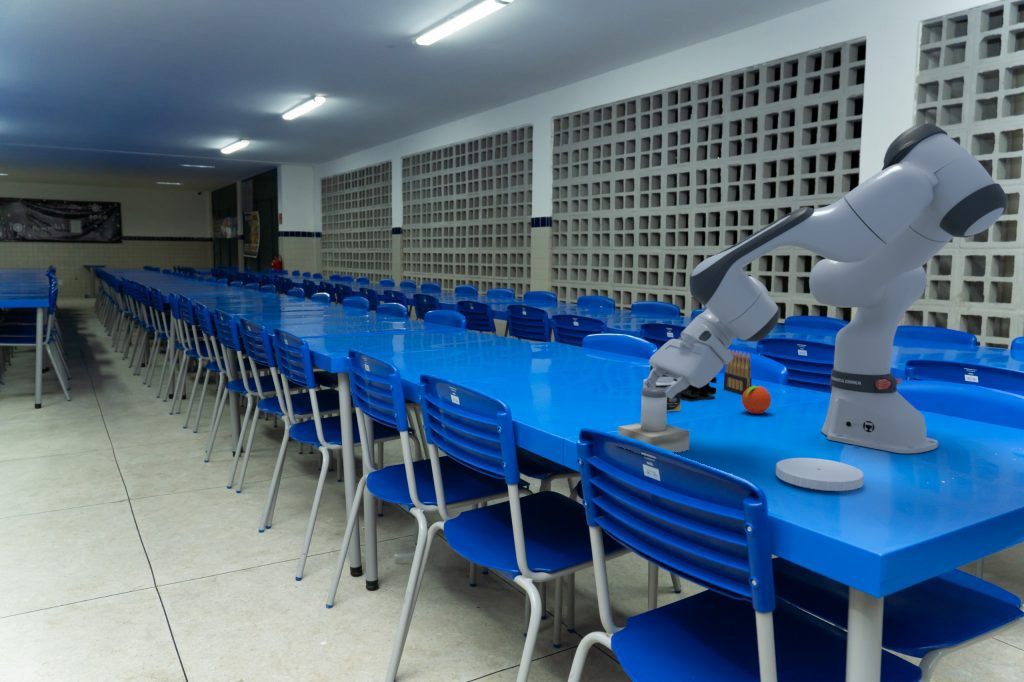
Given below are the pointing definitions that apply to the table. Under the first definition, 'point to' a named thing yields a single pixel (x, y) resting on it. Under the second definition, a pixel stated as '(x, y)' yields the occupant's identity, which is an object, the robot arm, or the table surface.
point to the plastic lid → (819, 474)
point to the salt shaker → (653, 409)
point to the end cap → (699, 392)
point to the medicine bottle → (664, 383)
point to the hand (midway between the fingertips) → (656, 391)
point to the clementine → (756, 399)
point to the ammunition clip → (738, 373)
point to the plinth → (659, 436)
